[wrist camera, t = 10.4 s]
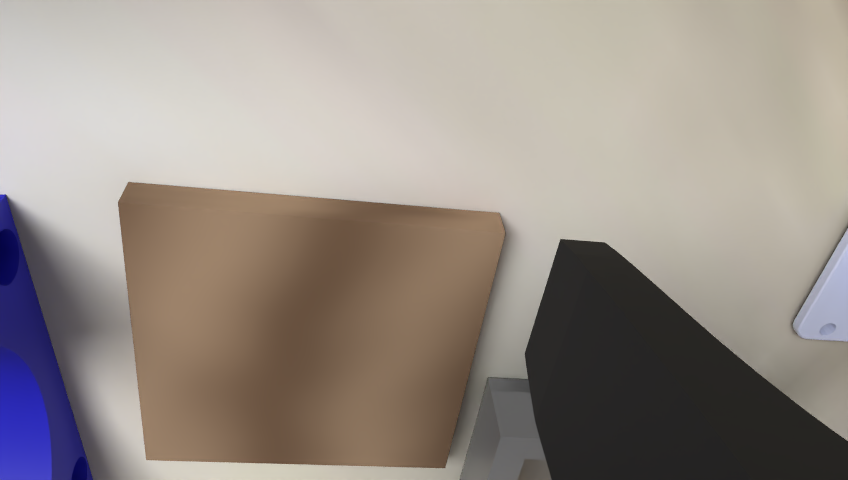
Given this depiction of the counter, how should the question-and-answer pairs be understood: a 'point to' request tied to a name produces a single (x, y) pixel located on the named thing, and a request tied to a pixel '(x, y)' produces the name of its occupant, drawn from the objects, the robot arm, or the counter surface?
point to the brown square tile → (302, 324)
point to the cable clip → (31, 379)
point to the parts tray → (505, 436)
